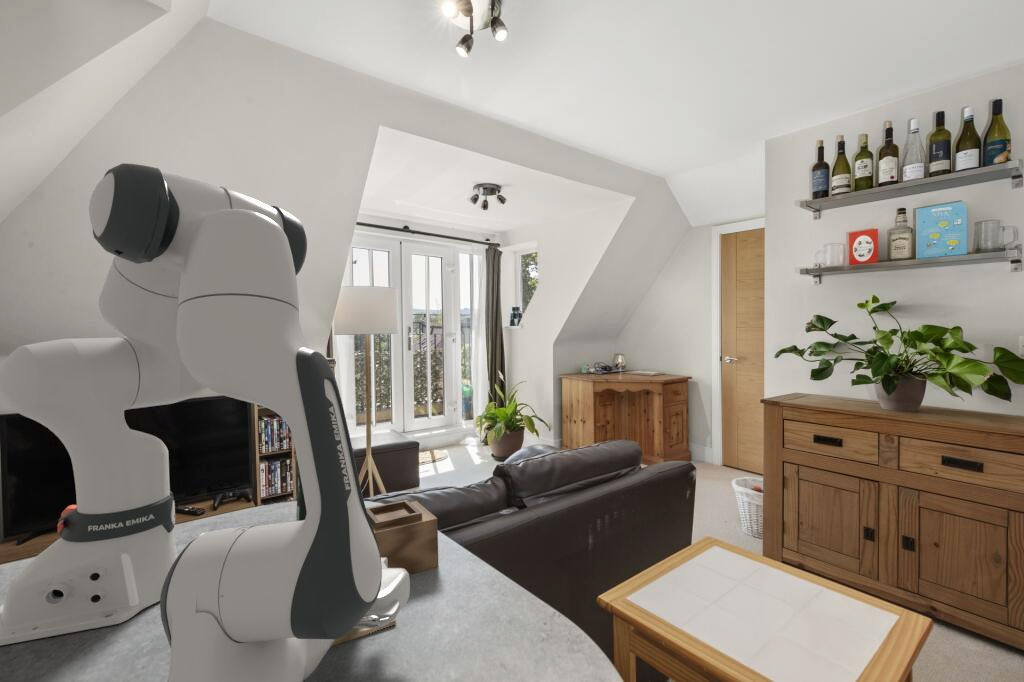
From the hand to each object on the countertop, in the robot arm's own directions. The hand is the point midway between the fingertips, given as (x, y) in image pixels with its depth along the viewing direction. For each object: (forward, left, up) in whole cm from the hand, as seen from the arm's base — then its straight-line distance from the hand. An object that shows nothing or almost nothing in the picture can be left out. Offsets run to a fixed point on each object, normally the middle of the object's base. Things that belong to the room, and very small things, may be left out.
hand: (348, 562), depth 67 cm
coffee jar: (+3, +39, -8) cm, 40 cm away
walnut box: (+10, +12, -7) cm, 17 cm away
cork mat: (0, 0, -7) cm, 8 cm away
